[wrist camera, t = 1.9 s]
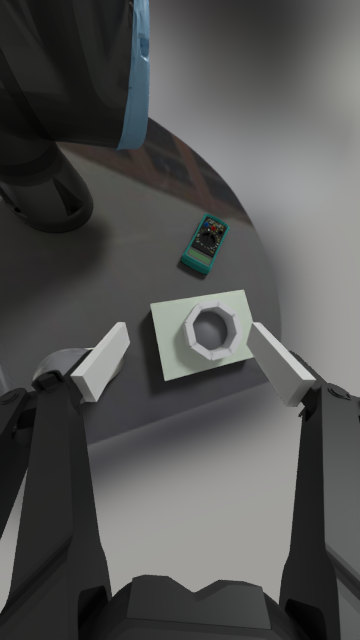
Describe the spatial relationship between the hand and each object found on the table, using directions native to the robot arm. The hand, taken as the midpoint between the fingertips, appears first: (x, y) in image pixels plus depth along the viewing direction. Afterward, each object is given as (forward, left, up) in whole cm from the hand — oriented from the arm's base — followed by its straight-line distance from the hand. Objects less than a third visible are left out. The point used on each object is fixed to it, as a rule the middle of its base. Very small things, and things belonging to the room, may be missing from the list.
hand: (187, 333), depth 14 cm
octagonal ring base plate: (0, +7, -15) cm, 16 cm away
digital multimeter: (-21, +13, -15) cm, 29 cm away
